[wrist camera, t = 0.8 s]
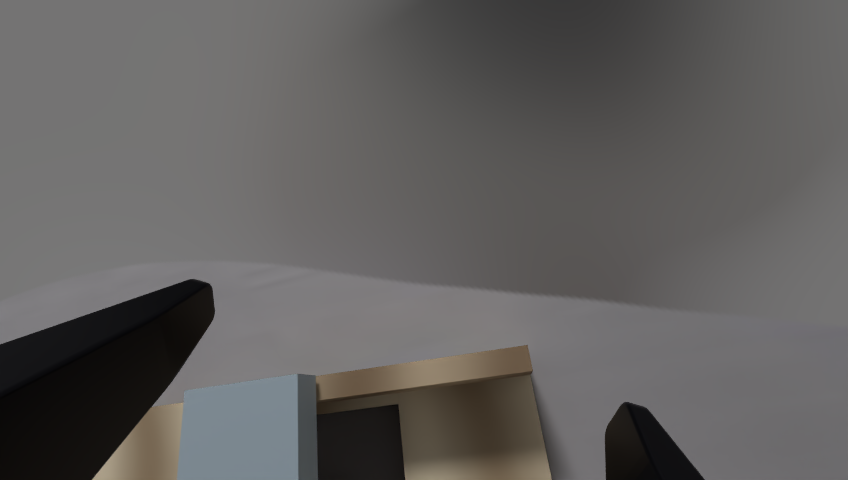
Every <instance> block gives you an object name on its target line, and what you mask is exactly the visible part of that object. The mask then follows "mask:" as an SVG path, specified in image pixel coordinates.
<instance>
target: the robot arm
mask: <svg viewBox="0 0 848 480" xmlns="http://www.w3.org/2000/svg"><path fill="white" fill-rule="evenodd" d="M214 314H215V308H214V299H213V290H212V286H211V285H210V284H209V283H207V282H203V281H199V280H196V279H190V280H186V281H183V282H181V283H178V284H175V285H172V286H169V287H166V288H163V289H160V290H157V291H154V292H151V293H149V294H146V295H143V296H140V297H137V298H134V299H131V300H128V301H125V302H122V303H120V304H117V305H114V306H111V307H108V308H105V309H102V310H99V311H96V312H93V313H91V314H88V315H85V316H82V317H79V318H76V319H73V320H70V321H67V322H64V323H61V324H59V325H56V326H53V327H50V328H47V329H44V330H41V331H38V332H35V333H32V334H29V335H27V336H24V337H21V338H18V339H15V340H12V341H9V342H6V343H3V344H0V480H92V479H93V478H94V477H95V476H96V474H97V473H98V472H99V471H100V469H101V468H102V467H103V466H104V464H105V463H106V462H107V461H108V460H109V458H110V457H111V456H112V455H113V453H114V452H115V451H116V450H117V449H118V447H119V446H120V445H121V444H122V442H123V441H124V440H125V439H126V438H127V436H128V435H129V434H130V433H131V431H132V430H133V429H134V428H135V426H136V425H137V424H138V423H139V422H140V420H141V419H142V418H143V417H144V415H145V414H146V413H147V412H148V411H149V409H150V408H151V407H152V406H153V404H154V403H155V402H156V401H157V400H158V398H159V397H160V396H161V395H162V393H163V392H164V391H165V390H166V388H167V387H168V386H169V385H170V383H171V382H172V381H173V379H174V378H175V376H176V375H177V374H178V372H179V371H180V369H181V368H182V366H183V365H184V363H185V362H186V360H187V359H188V357H189V356H190V354H191V353H192V351H193V350H194V348H195V347H196V345H197V344H198V342H199V341H200V339H201V338H202V336H203V335H204V333H205V332H206V330H207V329H208V327H209V325H210V324H211V322H212V320H213V318H214ZM605 459H606V480H705V479H704V478H703V477H702V476H701V474H700V473H699V472H698V471H697V469H696V468H695V467H694V466H693V465H692V463H691V462H690V461H689V460H688V458H687V457H686V456H685V455H684V453H683V452H682V451H681V450H680V448H679V447H678V446H677V445H676V443H675V442H674V441H673V440H672V438H671V437H670V436H669V435H668V433H667V432H666V431H665V430H664V429H663V427H662V426H661V425H660V424H659V422H658V421H657V420H656V419H655V417H654V416H653V415H652V414H651V412H650V411H649V410H648V409H647V408H645V407H643V406H640V405H636V404H633V403H629V402H625V403H623V404H622V405H621V406H620V407H619V409H618V410H617V412H616V413H615V415H614V416H613V418H612V420H611V421H610V423H609V424H608V426H607V429H606V432H605Z"/></svg>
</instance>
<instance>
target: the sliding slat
mask: <svg viewBox="0 0 848 480" xmlns="http://www.w3.org/2000/svg"><path fill="white" fill-rule="evenodd" d="M177 480H318V459H317V415H316V376H315V375H305V374H293V375H286V376H280V377H273V378H266V379H259V380H253V381H246V382H239V383H233V384H226V385H219V386H212V387H206V388H199V389H192V390H186V391H185V392H184V404H183V415H182V426H181V438H180V449H179V461H178V472H177Z"/></svg>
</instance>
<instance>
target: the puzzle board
mask: <svg viewBox="0 0 848 480" xmlns="http://www.w3.org/2000/svg"><path fill="white" fill-rule="evenodd" d="M532 371H533V369H532V365H531V360H530V355H529V350H528V345H525V346H518V347H511V348H505V349H498V350H491V351H484V352H477V353H471V354H464V355H457V356H450V357H443V358H437V359H430V360H423V361H416V362H409V363H403V364H396V365H389V366H382V367H375V368H369V369H362V370H355V371H348V372H341V373H335V374H328V375H321V376H316V415H320V414H328V413H335V412H343V411H350V410H358V409H365V408H373V407H380V406H388V405H395V404H398V405H399V416H400V427H401V438H402V449H403V460H404V471H405V480H552V478H551V474H550V469H549V464H548V459H547V454H546V449H545V444H544V440H543V435H542V430H541V425H540V420H539V415H538V410H537V406H536V401H535V396H534V391H533V386H532V381H531V376H530V374H531V373H532ZM183 404H184V403H177V404H170V405H163V406H156V407H151V408H150V409H149V411H148V412H147V413H146V414H145V415H144V417H143V418H142V419H141V420H140V422H139V423H138V424H137V425H136V426H135V428H134V429H133V430H132V431H131V433H130V434H129V435H128V436H127V438H126V439H125V440H124V441H123V442H122V444H121V445H120V446H119V447H118V449H117V450H116V451H115V452H114V453H113V455H112V456H111V457H110V458H109V460H108V461H107V462H106V463H105V464H104V466H103V467H102V468H101V469H100V471H99V472H98V473H97V474H96V476H95V477H94V478H93V479H92V480H177V472H178V461H179V449H180V438H181V426H182V415H183Z"/></svg>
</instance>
